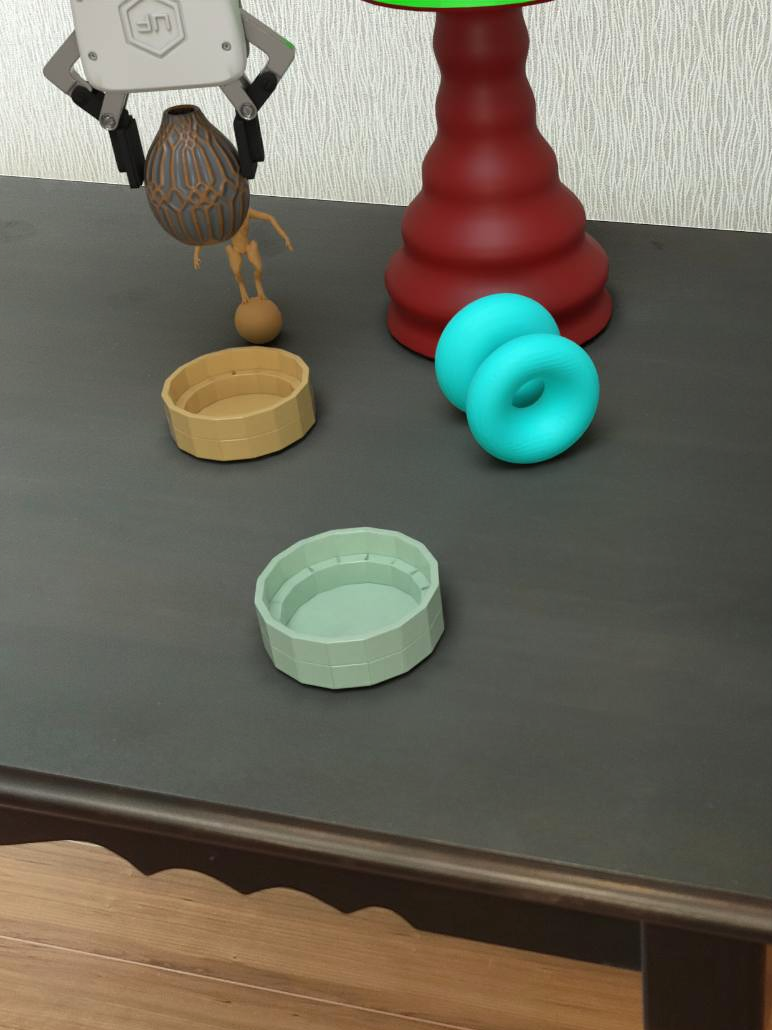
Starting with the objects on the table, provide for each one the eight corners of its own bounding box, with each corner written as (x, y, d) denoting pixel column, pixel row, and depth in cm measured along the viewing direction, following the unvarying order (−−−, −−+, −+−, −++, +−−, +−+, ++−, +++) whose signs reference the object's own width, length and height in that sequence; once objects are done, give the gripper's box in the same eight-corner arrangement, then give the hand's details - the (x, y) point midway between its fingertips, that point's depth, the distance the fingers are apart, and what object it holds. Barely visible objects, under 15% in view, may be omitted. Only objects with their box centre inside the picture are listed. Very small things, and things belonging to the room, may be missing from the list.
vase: (201, 264, 86) (173, 134, 81) (137, 241, 90) (106, 116, 84) (278, 228, 90) (255, 103, 85) (213, 208, 94) (188, 86, 89)
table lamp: (615, 367, 105) (609, -286, 78) (374, 374, 106) (285, -270, 79) (609, 264, 121) (602, -309, 94) (400, 270, 121) (333, -296, 94)
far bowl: (164, 471, 95) (152, 425, 93) (183, 396, 104) (172, 352, 102) (313, 457, 96) (305, 411, 93) (319, 384, 105) (311, 340, 102)
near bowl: (259, 702, 75) (247, 650, 73) (272, 585, 84) (262, 536, 81) (448, 683, 76) (441, 631, 73) (441, 569, 84) (435, 519, 82)
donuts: (479, 485, 92) (469, 362, 86) (436, 419, 99) (423, 302, 93) (606, 452, 95) (605, 331, 89) (555, 390, 102) (550, 274, 96)
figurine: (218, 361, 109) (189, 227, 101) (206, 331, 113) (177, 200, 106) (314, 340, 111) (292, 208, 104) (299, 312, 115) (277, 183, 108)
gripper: (-31, -89, 73) (54, 208, 84) (274, -110, 74) (320, 187, 85) (1, -114, 79) (77, 167, 90) (283, -133, 80) (325, 147, 91)
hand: (195, 174), depth 87 cm, fingers closed on vase, 7 cm apart
